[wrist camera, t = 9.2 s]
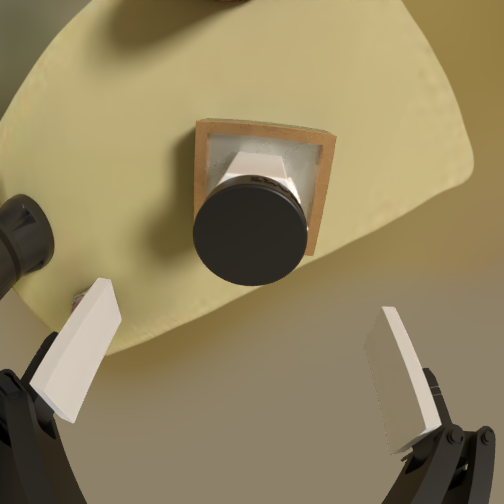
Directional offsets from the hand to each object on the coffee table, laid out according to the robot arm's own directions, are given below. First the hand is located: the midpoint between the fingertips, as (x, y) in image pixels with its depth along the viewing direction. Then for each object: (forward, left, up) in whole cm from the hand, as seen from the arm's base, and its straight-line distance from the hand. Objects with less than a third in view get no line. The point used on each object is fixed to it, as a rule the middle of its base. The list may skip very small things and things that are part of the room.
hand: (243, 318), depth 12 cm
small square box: (0, 0, -24) cm, 24 cm away
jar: (0, 0, -20) cm, 20 cm away
